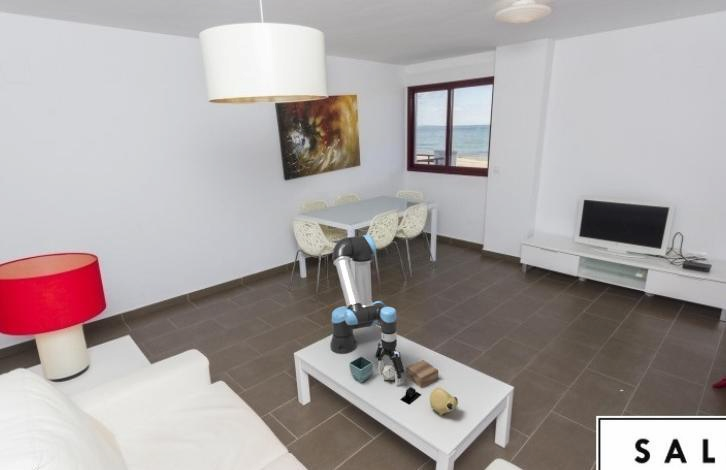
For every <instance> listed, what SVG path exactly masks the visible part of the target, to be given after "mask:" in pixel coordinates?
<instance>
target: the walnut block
mask: <svg viewBox="0 0 726 470" xmlns="http://www.w3.org/2000/svg"><path fill="white" fill-rule="evenodd" d="M406 378H407V379H409V380H410V381H411V382H413V383H414V384H415V385H416V386H418V387H419V388H420V389H423V388H425V387H427V386H430V385H431V384H433V383H435V382H438V381H439V369H438V368H436V367H435V366H433V365H432V364H430V363H429V362H427V361H426V360H425V359H420V360H419V361H417V362H415V363H412V364H410V365H408V366H406Z"/></svg>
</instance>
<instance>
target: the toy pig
mask: <svg viewBox="0 0 726 470" xmlns="http://www.w3.org/2000/svg"><path fill="white" fill-rule="evenodd" d="M429 403H430V407H429V408H431V409H433V410H434V411H436V412H437V413H439V415H440V416H443V415H444V414H447V413H449V412H452V411H454V410H456V408H457V407H458V404H459V401H458V398H457V397H456V396H452V395H451V394H450V393H449V392H448V391H446V390H445V389H443V388H441V387H436V388H435V389H433V390H432V392H431V393H430V395H429Z"/></svg>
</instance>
